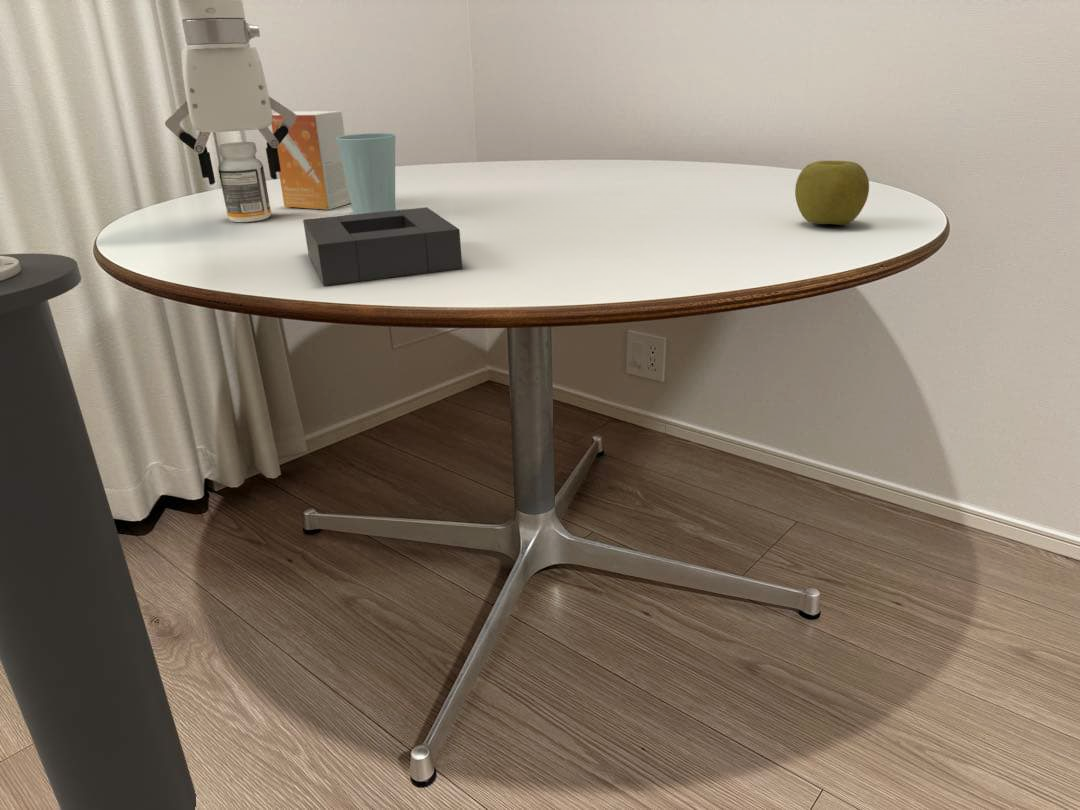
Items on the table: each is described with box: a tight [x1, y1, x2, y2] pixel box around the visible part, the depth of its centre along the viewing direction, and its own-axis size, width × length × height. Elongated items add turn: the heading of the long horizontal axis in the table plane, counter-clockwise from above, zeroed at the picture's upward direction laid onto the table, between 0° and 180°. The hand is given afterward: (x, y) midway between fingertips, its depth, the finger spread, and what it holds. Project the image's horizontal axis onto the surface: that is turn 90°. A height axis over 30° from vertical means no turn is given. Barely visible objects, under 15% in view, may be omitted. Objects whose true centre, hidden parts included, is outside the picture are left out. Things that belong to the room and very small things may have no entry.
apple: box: [794, 160, 870, 226], centre depth 91 cm, size 8×8×7 cm
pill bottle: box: [217, 141, 272, 223], centre depth 107 cm, size 6×6×10 cm
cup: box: [336, 132, 396, 215], centre depth 106 cm, size 8×8×10 cm
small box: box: [270, 110, 351, 211], centre depth 114 cm, size 8×6×13 cm
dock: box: [302, 206, 463, 287], centre depth 83 cm, size 14×14×4 cm
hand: (243, 179), depth 107 cm, fingers open, 7 cm apart
